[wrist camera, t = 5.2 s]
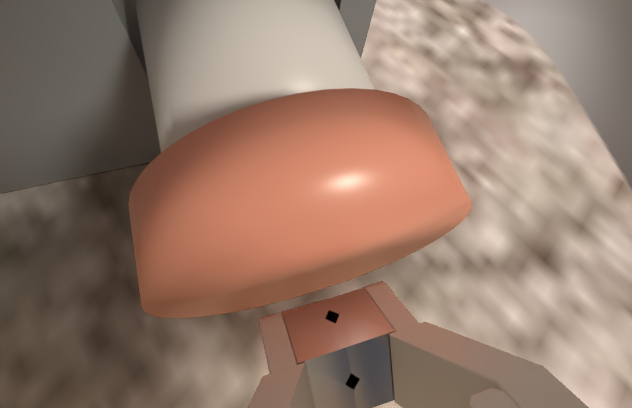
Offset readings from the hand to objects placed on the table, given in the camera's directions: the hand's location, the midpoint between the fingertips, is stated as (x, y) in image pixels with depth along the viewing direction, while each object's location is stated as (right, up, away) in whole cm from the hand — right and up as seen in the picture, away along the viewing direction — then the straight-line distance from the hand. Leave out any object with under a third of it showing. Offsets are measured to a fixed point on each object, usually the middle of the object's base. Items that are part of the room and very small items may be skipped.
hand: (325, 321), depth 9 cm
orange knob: (-2, +3, +5) cm, 6 cm away
